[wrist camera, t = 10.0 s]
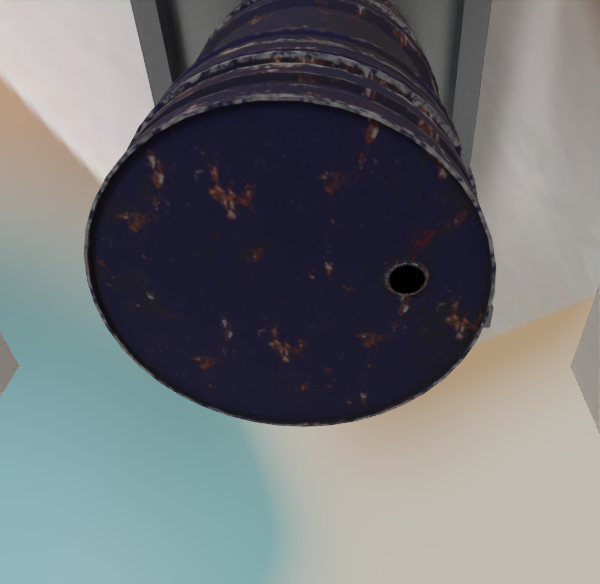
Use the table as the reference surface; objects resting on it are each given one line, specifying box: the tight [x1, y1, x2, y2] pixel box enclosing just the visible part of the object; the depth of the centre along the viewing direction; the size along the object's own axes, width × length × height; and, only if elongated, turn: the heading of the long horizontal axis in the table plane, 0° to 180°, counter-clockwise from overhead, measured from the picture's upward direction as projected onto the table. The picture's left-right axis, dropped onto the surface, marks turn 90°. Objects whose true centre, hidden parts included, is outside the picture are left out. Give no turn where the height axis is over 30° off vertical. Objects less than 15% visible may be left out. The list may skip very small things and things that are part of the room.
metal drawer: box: [130, 0, 493, 327], centre depth 21 cm, size 17×14×11 cm
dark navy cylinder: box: [84, 0, 496, 427], centre depth 19 cm, size 10×10×15 cm
